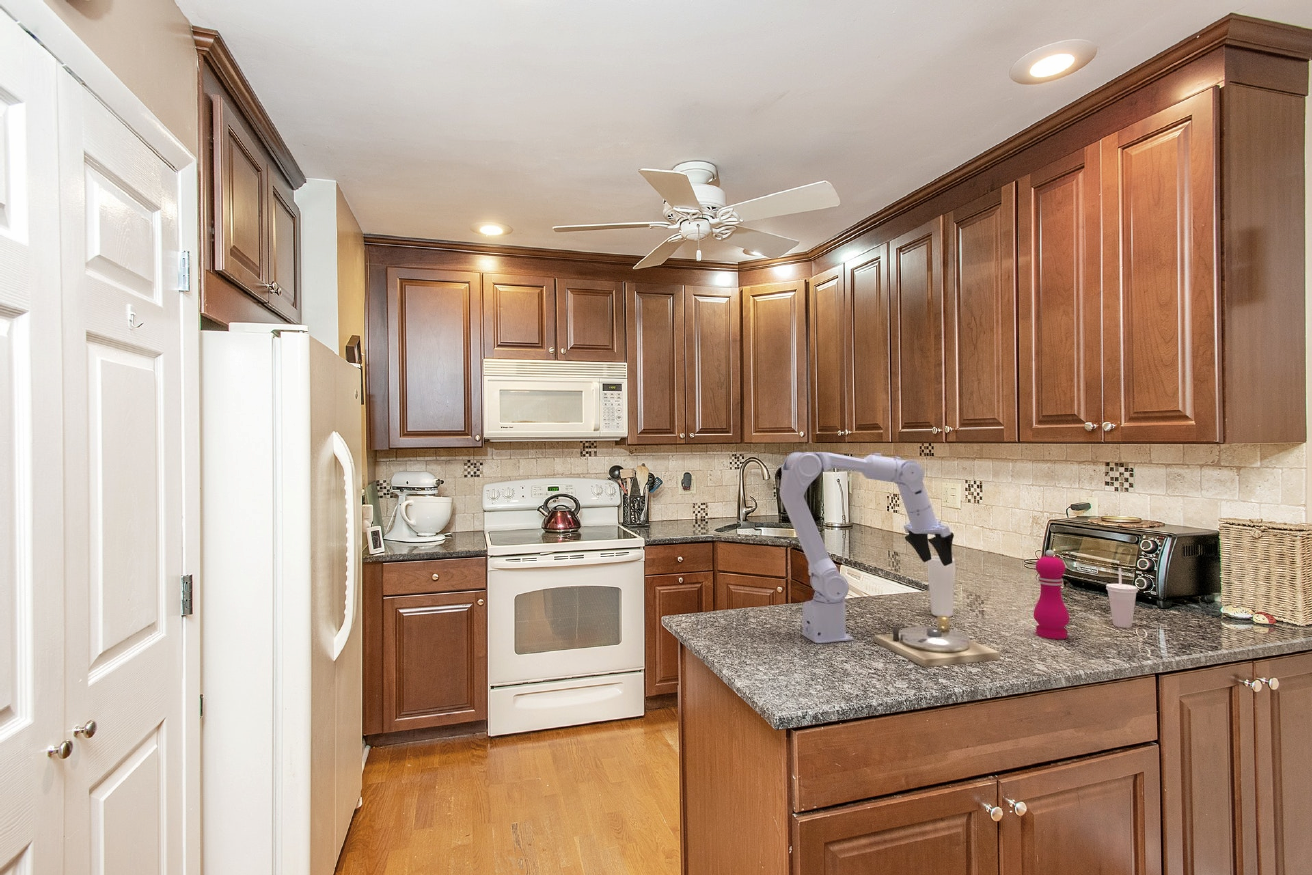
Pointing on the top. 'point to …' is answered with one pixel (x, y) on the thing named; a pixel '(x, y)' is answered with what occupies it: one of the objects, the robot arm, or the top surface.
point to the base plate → (933, 657)
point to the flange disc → (935, 637)
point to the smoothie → (1122, 602)
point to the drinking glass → (941, 586)
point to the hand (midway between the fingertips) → (937, 562)
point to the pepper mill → (1051, 598)
